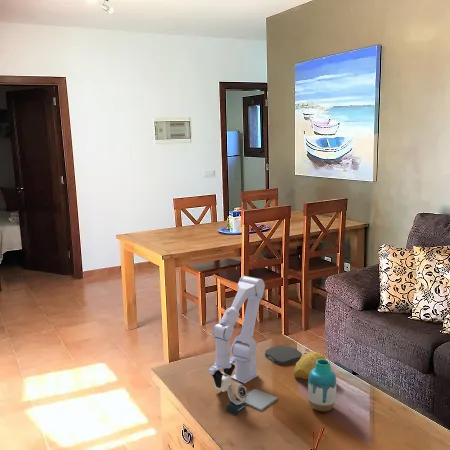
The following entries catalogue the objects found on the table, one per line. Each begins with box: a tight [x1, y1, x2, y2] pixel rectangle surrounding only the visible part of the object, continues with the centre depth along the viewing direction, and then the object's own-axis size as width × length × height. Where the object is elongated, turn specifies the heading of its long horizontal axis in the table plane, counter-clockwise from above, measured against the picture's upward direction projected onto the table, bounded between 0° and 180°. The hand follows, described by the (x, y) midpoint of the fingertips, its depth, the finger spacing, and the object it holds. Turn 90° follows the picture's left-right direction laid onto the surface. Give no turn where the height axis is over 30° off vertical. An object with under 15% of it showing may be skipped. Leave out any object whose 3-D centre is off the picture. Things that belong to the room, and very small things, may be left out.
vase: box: [307, 358, 337, 412], centre depth 189 cm, size 11×11×19 cm
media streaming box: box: [264, 345, 303, 366], centre depth 234 cm, size 15×15×3 cm
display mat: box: [244, 388, 278, 412], centre depth 196 cm, size 11×11×1 cm
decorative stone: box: [293, 351, 334, 380], centre depth 212 cm, size 13×15×15 cm
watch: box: [226, 381, 248, 416], centre depth 188 cm, size 6×8×11 cm
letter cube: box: [213, 371, 232, 393], centre depth 202 cm, size 5×5×5 cm
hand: (222, 384), depth 202 cm, fingers closed on letter cube, 5 cm apart
